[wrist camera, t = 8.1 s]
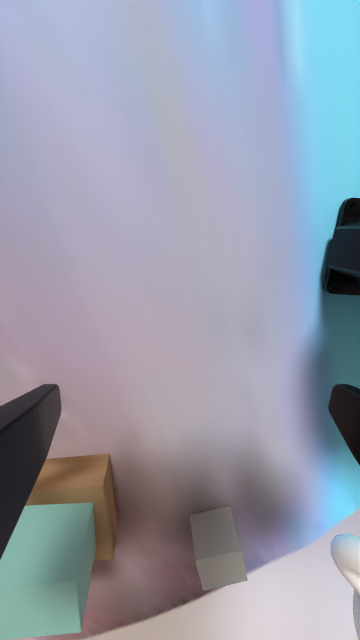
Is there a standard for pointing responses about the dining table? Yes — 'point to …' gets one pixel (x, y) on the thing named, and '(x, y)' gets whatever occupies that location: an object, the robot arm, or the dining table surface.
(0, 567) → the teal cube
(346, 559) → the white knotted shape
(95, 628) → the dining table surface
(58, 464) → the tan flat block
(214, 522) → the grey cube
